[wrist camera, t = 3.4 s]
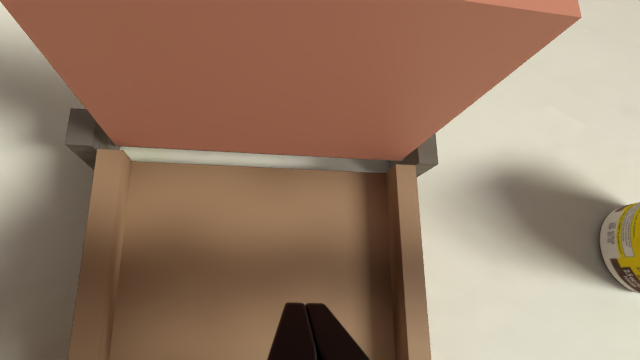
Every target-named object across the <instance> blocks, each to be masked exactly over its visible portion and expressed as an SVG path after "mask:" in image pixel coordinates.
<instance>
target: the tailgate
mask: <svg viewBox="0 0 640 360" xmlns="http://www.w3.org/2000/svg"><path fill="white" fill-rule="evenodd" d="M0 2H1V3H2V4H3V5H4V7H5V8H6V9H7V10H8V12H9V13H10V14H11V15H12V17H13V18H14V19H15V20H16V22H17V23H18V24H19V25H20V27H21V28H22V29H23V30H24V32H25V33H26V34H27V35H28V37H29V38H30V39H31V40H32V42H33V43H34V44H35V45H36V47H37V48H38V49H39V50H40V52H41V53H42V54H43V55H44V57H45V58H46V59H47V60H48V62H49V63H50V64H51V65H52V67H53V68H54V69H55V70H56V72H57V73H58V74H59V75H60V77H61V78H62V79H63V80H64V82H65V83H66V84H67V85H68V87H69V88H70V89H71V90H72V92H73V93H74V94H75V95H76V97H77V98H78V99H79V100H80V102H81V103H82V104H83V105H84V107H85V108H86V109H87V110H88V112H89V113H90V114H91V115H92V117H93V118H94V119H95V120H96V122H97V123H98V124H99V125H100V127H101V128H102V129H103V130H104V132H105V133H106V134H107V135H108V137H109V140H110V144H111V145H112V146H128V147H147V148H165V149H184V150H203V151H222V152H240V153H259V154H278V155H297V156H315V157H334V158H353V159H372V160H390V161H403V160H404V158H405V157H406V156H407V155H408V154H410V153H411V152H412V151H413V150H415V149H416V148H417V147H418V146H420V145H421V144H422V143H423V142H425V141H426V140H427V139H428V138H430V137H431V136H432V135H434V134H435V133H436V132H437V131H439V130H440V129H441V128H442V127H444V126H445V125H446V124H447V123H449V122H450V121H451V120H452V119H454V118H455V117H456V116H458V115H459V114H460V113H461V112H463V111H464V110H465V109H466V108H468V107H469V106H470V105H471V104H473V103H474V102H475V101H476V100H478V99H479V98H480V97H482V96H483V95H484V94H485V93H487V92H488V91H489V90H490V89H492V88H493V87H494V86H495V85H497V84H498V83H499V82H500V81H502V80H503V79H504V78H506V77H507V76H508V75H509V74H511V73H512V72H513V71H514V70H516V69H517V68H518V67H519V66H521V65H522V64H523V63H524V62H526V61H527V60H528V59H530V58H531V57H532V56H533V55H535V54H536V53H537V52H538V51H540V50H541V49H542V48H543V47H545V46H546V45H547V44H548V43H550V42H551V41H552V40H554V39H555V38H556V37H557V36H559V35H560V34H561V33H562V32H564V31H565V30H566V29H567V28H569V27H570V26H571V25H572V24H574V23H575V22H576V21H578V20H579V19H580V18H581V13H580V8H579V4H578V0H0Z"/></svg>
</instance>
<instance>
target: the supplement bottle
mask: <svg viewBox="0 0 640 360" xmlns="http://www.w3.org/2000/svg"><path fill="white" fill-rule="evenodd" d="M600 247H601V252H602V256H603V259H604V261H605V263H606V265H607V267H608V269H609V270H610V272H611V273H612V274H613V276H614V277H615V278H616V279H617V280H618V281H619V282H620V283H621V284H622V285H624V286H625V287H627V288H628V289H630V290H632V291H634V292H637V293H640V202H639V203H634V204H630V205H626V206H622V207H620V208H617V209H615V210H614V211H612V212H611V213H610V214H609V215H608V216H607V218H606V219H605V221H604V223H603V225H602V228H601V233H600Z"/></svg>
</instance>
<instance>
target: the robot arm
mask: <svg viewBox="0 0 640 360" xmlns="http://www.w3.org/2000/svg"><path fill="white" fill-rule="evenodd" d="M267 360H370V358H369V357H368V356H367V355H366V353H365V352H364V351H363V350H362V349H361V347H360V346H359V345H358V344H357V342H356V341H355V340H354V339H353V338H352V336H351V335H350V334H349V333H348V332H347V330H346V329H345V328H344V327H343V325H342V324H341V323H340V322H339V321H338V319H337V318H336V317H335V316H334V315H333V313H332V312H331V311H330V310H329V308H328V307H327V306H326V305H325V304H323V303H306V304H303V303H299V302H287V303H286V304H285V306H284V309H283V312H282V315H281V318H280V321H279V324H278V327H277V330H276V333H275V336H274V340H273V343H272V346H271V349H270V352H269V355H268V358H267Z"/></svg>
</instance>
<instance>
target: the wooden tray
mask: <svg viewBox="0 0 640 360" xmlns="http://www.w3.org/2000/svg"><path fill="white" fill-rule="evenodd" d="M65 145H66V146H68V147H69V148H70V149H71V150H72V151H73V152H74V153H75V154H77V155H78V156H79V157H80V158H81V159H82V160H83V161H85V162H86V163H87V164H88V165H89V166H90V167H91V168H92V169H94V176H93V183H92V190H91V198H90V205H89V212H88V219H87V226H86V233H85V240H84V247H83V254H82V261H81V269H80V276H79V283H78V290H77V297H76V304H75V311H74V318H73V325H72V332H71V340H70V347H69V354H68V360H267V358H268V355H269V352H270V349H271V346H272V343H273V340H274V336H275V333H276V330H277V327H278V324H279V321H280V318H281V315H282V312H283V309H284V306H285V304H286V303H287V302H299V303H303V304H306V303H323V304H325V305H326V306H327V307H328V308H329V310H330V311H331V312H332V313H333V315H334V316H335V317H336V318H337V319H338V321H339V322H340V323H341V324H342V325H343V327H344V328H345V329H346V330H347V332H348V333H349V334H350V335H351V336H352V338H353V339H354V340H355V341H356V342H357V344H358V345H359V346H360V347H361V349H362V350H363V351H364V352H365V353H366V355H367V356H368V357H369V358H370V360H431V351H430V339H429V326H428V314H427V301H426V289H425V276H424V264H423V251H422V239H421V226H420V214H419V202H418V189H417V177H418V176H420V175H422V174H423V173H425V172H426V171H428V170H429V169H431V168H433V167H434V166H436V165H437V164H438V156H437V146H436V135H435V134H434V135H432V136H431V137H430V138H428V139H427V140H426V141H425V142H423V143H422V144H421V145H420V146H418V147H417V148H416V149H415V150H413V151H412V152H411V153H410V154H408V155H407V156H406V157H405V158H404V160H403V161H390V160H389V164H390V169H389V170H388V171H387V172H386V173H370V172H348V171H327V170H305V169H284V168H262V167H241V166H220V165H198V164H177V163H155V162H134V161H131V159H130V158H129V157H128V155H127V154H126V153H125V152H124V150H119V149H120V146H112V145H111V144H110V140H109V137H108V135H107V134H106V133H105V132H104V130H103V129H102V128H101V127H100V125H99V124H98V123H97V122H96V120H95V119H94V118H93V117H92V115H91V114H90V113H89V112H88V110H86V109H71V111H70V117H69V123H68V129H67V135H66V141H65Z"/></svg>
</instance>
